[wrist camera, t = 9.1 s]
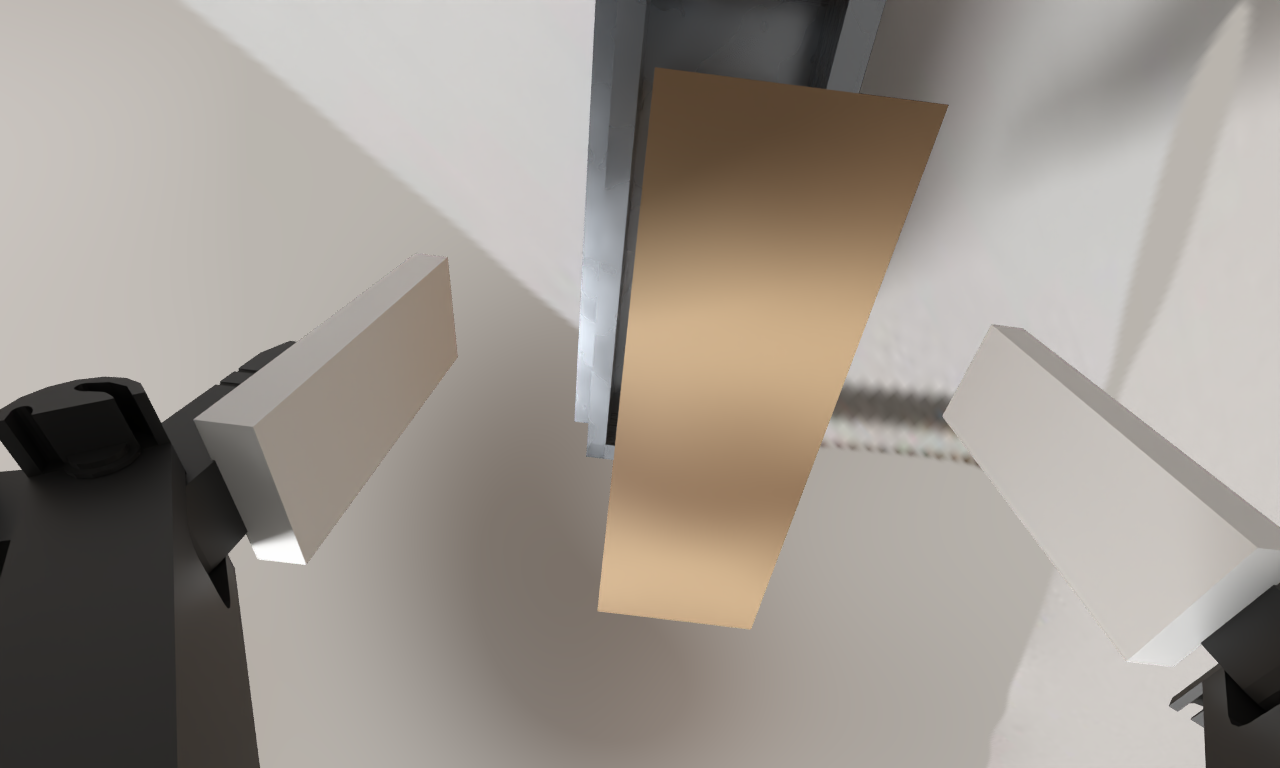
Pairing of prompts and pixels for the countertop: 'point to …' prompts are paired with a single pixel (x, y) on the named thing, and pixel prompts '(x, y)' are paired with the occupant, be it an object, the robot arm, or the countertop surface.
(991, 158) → the countertop surface
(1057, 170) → the countertop surface
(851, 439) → the countertop surface
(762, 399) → the panel
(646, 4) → the track
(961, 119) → the countertop surface
